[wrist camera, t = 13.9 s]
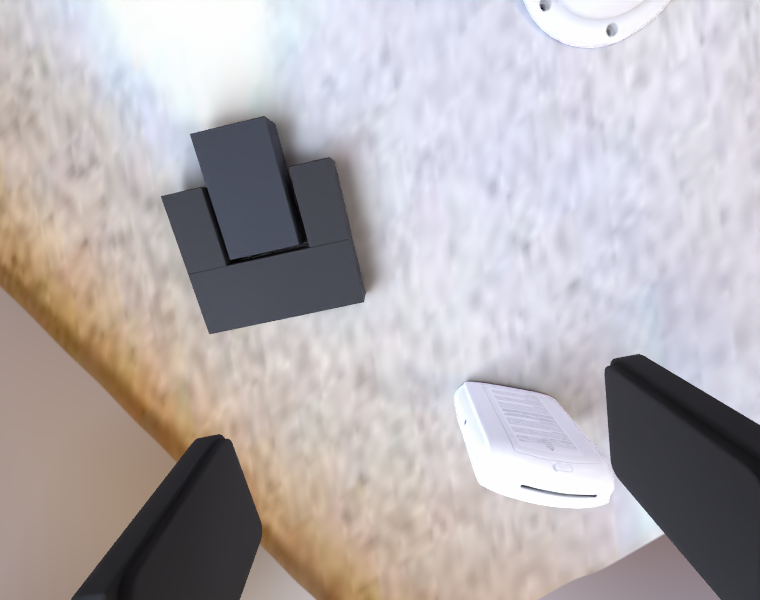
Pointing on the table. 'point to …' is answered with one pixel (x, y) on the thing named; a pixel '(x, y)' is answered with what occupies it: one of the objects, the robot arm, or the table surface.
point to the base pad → (271, 257)
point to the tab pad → (249, 187)
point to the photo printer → (530, 448)
